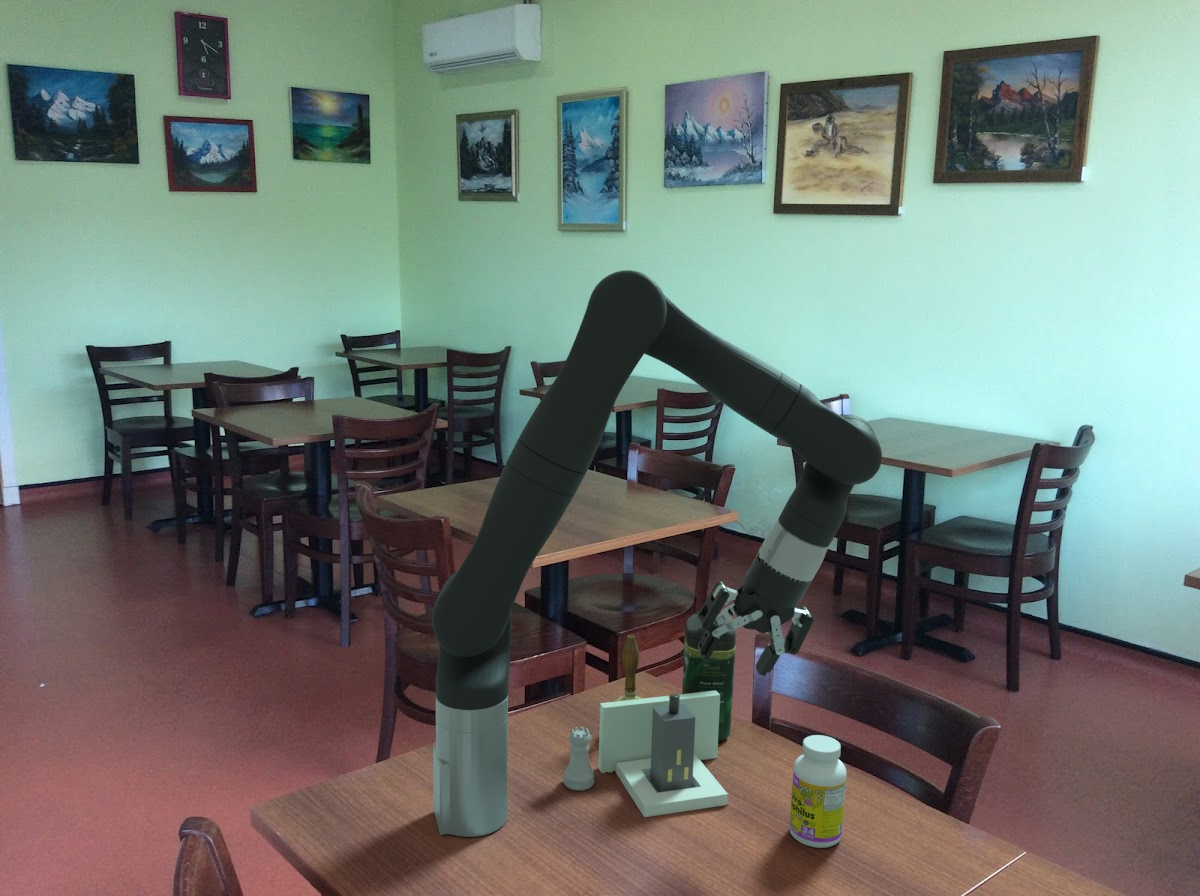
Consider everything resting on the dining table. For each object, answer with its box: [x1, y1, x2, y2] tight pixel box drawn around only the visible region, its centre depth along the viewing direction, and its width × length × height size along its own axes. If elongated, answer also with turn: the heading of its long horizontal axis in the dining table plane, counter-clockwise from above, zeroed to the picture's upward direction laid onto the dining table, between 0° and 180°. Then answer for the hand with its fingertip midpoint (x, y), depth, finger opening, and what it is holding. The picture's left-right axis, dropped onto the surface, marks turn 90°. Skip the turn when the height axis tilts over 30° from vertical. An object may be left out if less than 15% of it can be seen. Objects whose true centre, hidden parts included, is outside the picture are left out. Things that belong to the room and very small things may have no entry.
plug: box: [650, 693, 695, 792], centre depth 138 cm, size 4×5×13 cm
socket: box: [597, 691, 729, 818], centre depth 139 cm, size 18×14×10 cm
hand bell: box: [616, 634, 643, 701], centre depth 154 cm, size 8×8×16 cm
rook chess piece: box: [562, 726, 596, 792], centre depth 139 cm, size 4×4×8 cm
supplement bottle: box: [789, 734, 848, 849], centre depth 127 cm, size 7×7×13 cm
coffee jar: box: [681, 611, 737, 741], centre depth 155 cm, size 10×8×19 cm
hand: (731, 664), depth 130 cm, fingers open, 8 cm apart
